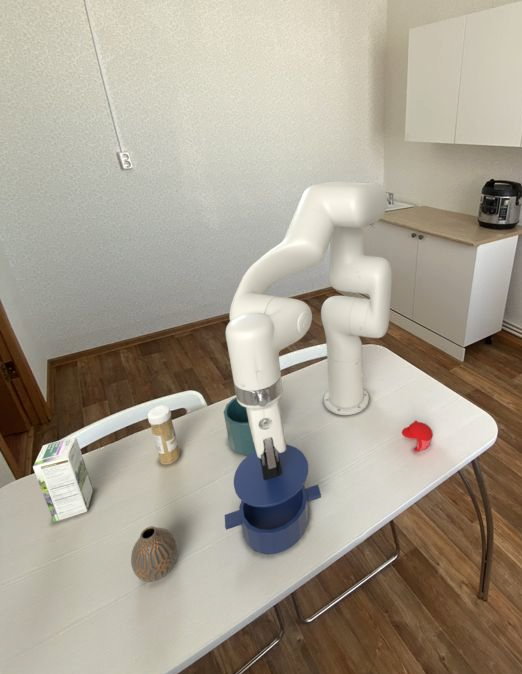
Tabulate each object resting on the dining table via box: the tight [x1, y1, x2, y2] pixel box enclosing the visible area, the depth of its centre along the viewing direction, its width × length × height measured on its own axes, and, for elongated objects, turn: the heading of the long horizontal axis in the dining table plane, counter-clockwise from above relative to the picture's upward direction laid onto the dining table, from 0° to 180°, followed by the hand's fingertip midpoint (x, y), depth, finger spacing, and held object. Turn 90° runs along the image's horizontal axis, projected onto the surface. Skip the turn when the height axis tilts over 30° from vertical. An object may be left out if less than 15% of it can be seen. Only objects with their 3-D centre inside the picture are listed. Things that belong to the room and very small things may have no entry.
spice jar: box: [147, 404, 181, 466], centre depth 87 cm, size 5×5×14 cm
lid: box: [233, 444, 309, 507], centre depth 69 cm, size 13×13×7 cm
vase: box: [130, 525, 178, 583], centre depth 65 cm, size 7×7×9 cm
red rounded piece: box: [401, 420, 434, 453], centre depth 91 cm, size 8×6×6 cm
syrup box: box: [32, 437, 94, 523], centre depth 76 cm, size 6×6×14 cm
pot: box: [223, 396, 256, 456], centre depth 94 cm, size 12×12×9 cm
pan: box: [224, 484, 322, 555], centre depth 73 cm, size 12×18×5 cm
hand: (270, 468), depth 70 cm, fingers closed on lid, 2 cm apart
